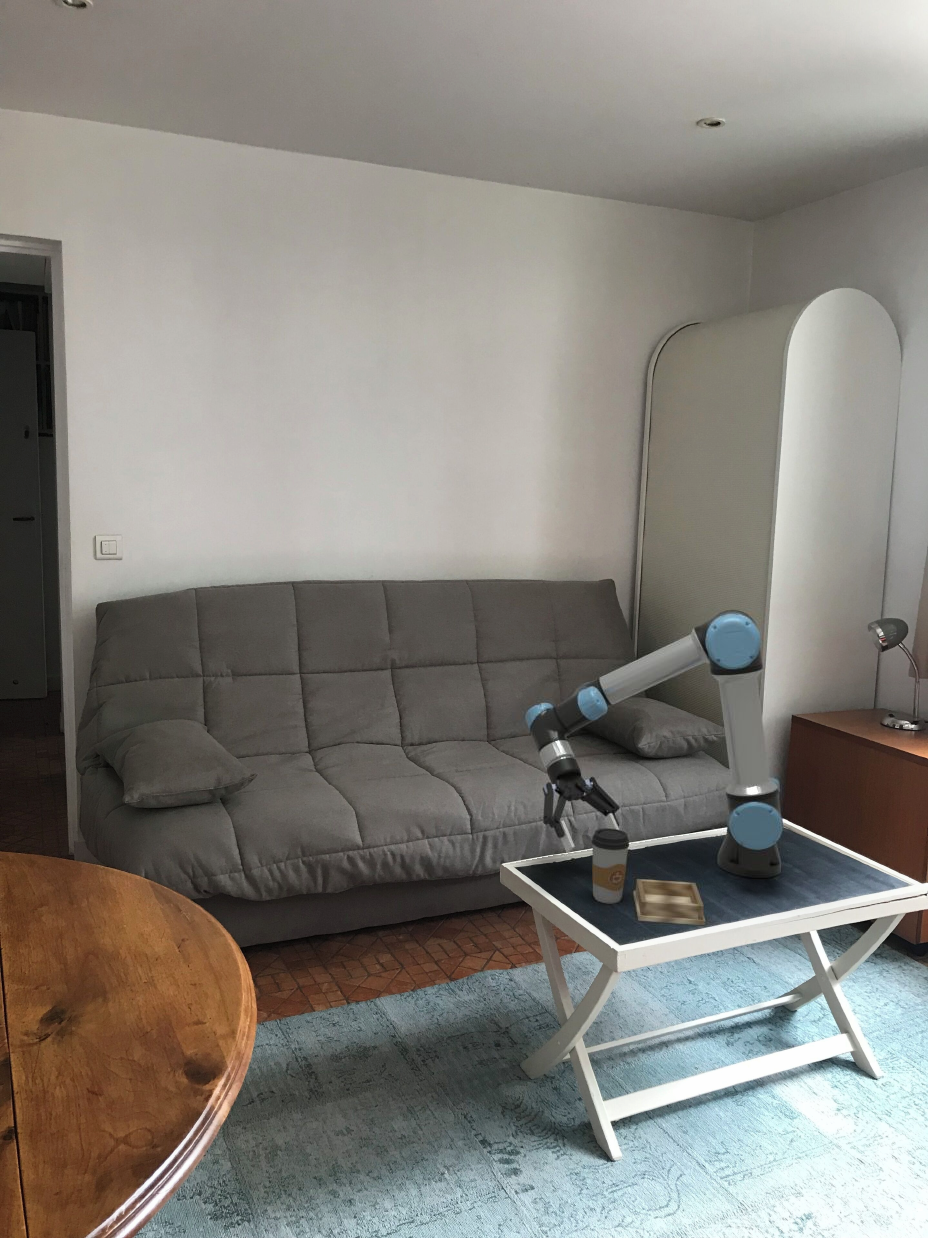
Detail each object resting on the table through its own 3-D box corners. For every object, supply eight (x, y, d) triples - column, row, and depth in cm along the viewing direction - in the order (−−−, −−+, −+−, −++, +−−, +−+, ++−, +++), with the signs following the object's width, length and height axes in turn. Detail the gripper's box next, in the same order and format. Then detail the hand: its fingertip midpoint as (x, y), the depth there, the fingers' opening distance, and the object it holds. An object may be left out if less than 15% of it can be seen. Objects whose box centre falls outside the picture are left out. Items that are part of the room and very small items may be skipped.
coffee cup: (601, 908, 218) (604, 842, 216) (581, 893, 225) (585, 829, 223) (633, 903, 221) (637, 838, 219) (613, 889, 228) (616, 826, 227)
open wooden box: (695, 899, 224) (697, 882, 224) (705, 925, 210) (706, 907, 210) (633, 895, 225) (634, 878, 225) (638, 920, 212) (639, 902, 211)
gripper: (595, 767, 245) (630, 845, 234) (509, 777, 232) (542, 861, 221) (610, 751, 239) (646, 830, 228) (523, 761, 227) (557, 845, 216)
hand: (595, 845), depth 225 cm, fingers open, 13 cm apart
